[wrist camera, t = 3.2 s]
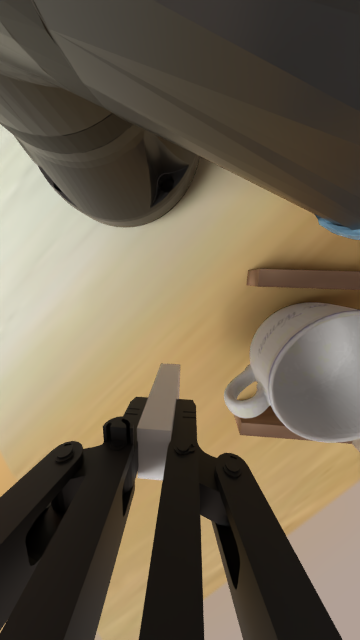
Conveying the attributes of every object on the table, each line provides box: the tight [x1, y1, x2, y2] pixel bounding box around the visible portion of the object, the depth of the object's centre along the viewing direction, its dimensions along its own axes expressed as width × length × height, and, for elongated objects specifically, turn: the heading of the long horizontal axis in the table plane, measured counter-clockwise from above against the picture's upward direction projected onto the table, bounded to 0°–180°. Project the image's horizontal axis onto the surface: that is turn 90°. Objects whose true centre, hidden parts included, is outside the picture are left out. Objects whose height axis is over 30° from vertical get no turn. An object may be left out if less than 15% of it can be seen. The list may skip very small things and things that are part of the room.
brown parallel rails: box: [234, 269, 360, 452], centre depth 19 cm, size 17×13×5 cm
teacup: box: [224, 302, 360, 443], centre depth 17 cm, size 14×11×8 cm
